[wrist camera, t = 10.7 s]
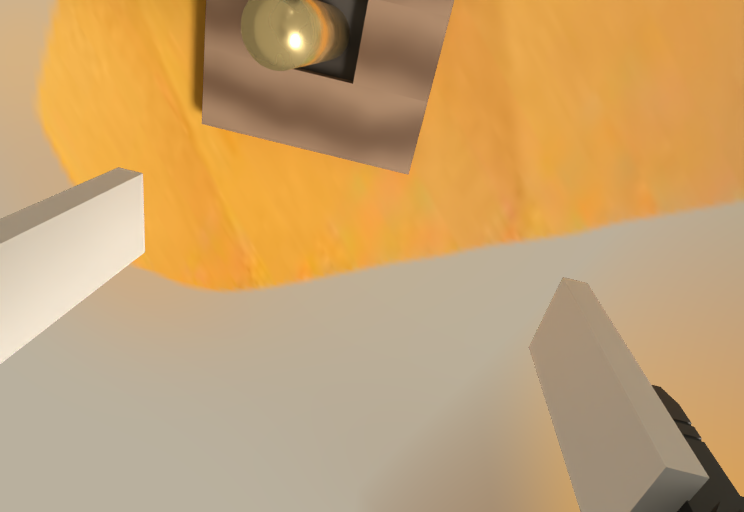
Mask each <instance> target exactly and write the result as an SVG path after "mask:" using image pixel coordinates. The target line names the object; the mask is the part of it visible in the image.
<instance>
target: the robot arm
mask: <svg viewBox="0 0 744 512" xmlns="http://www.w3.org/2000/svg"><path fill="white" fill-rule="evenodd" d="M144 252H145V235H144V199H143V173H139V172H135V171H131V170H127V169H123V168H119V167H118V168H116V169H114V170H111V171H109V172H107V173H104V174H102V175H100V176H98V177H95V178H93V179H91V180H88V181H86V182H84V183H82V184H79V185H77V186H75V187H72V188H70V189H68V190H66V191H63V192H61V193H59V194H57V195H54V196H52V197H50V198H47V199H45V200H43V201H41V202H38V203H36V204H33V205H31V206H29V207H27V208H24V209H22V210H20V211H18V212H15V213H13V214H11V215H8V216H6V217H4V218H1V219H0V364H1V363H2V362H3V361H5V360H6V359H7V358H9V357H10V356H11V355H12V354H14V353H15V352H16V351H18V350H19V349H20V348H21V347H23V346H24V345H25V344H27V343H28V342H29V341H31V340H32V339H33V338H34V337H36V336H37V335H38V334H40V333H41V332H42V331H44V330H45V329H46V328H47V327H49V326H50V325H51V324H52V323H54V322H55V321H56V320H58V319H59V318H60V317H61V316H63V315H64V314H65V313H67V312H68V311H69V310H71V309H72V308H73V307H75V306H76V305H77V304H78V303H80V302H81V301H82V300H83V299H85V298H86V297H87V296H89V295H90V294H91V293H92V292H94V291H95V290H96V289H98V288H99V287H100V286H101V285H103V284H104V283H105V282H107V281H108V280H109V279H111V278H112V277H113V276H115V275H116V274H117V273H118V272H120V271H121V270H122V269H123V268H125V267H126V266H128V265H129V264H130V263H131V262H133V261H134V260H135V259H137V258H138V257H139V256H140V255H142V254H143V253H144ZM529 349H530V352H531V355H532V359H533V362H534V365H535V368H536V371H537V375H538V378H539V381H540V384H541V387H542V390H543V394H544V397H545V400H546V403H547V406H548V410H549V412H550V416H551V419H552V422H553V425H554V428H555V432H556V435H557V438H558V441H559V445H560V447H561V451H562V454H563V457H564V460H565V464H566V466H567V470H568V473H569V476H570V480H571V483H572V486H573V489H574V492H575V495H576V499H577V502H578V505H579V508H580V511H581V512H744V497H742V496H740V495H739V493H738V492H737V490H736V489H735V488H734V486H733V485H732V483H731V482H730V480H729V479H728V477H727V476H726V474H725V473H724V471H723V470H722V468H721V467H720V465H719V464H718V462H717V461H716V459H715V458H714V456H713V455H712V453H711V452H710V450H709V449H708V448H707V446H706V444H705V443H704V442H701V437H700V436H699V434H698V432H697V431H696V429H695V428H694V427H693V426H691V422H690V420H689V419H688V418H687V416H686V414H685V413H684V411H683V410H682V408H681V407H680V405H679V404H678V403H677V402H676V401H675V400H674V399H672V397H670V396H669V395H668V394H667V393H666V392H665V391H664V390H663V389H662V388H661V387H658V386H654V385H651V384H650V382H649V381H648V379H647V377H646V376H645V374H644V373H643V371H642V369H641V368H640V366H639V365H638V363H637V362H636V360H635V358H634V357H633V355H632V353H631V352H630V350H629V349H628V347H627V345H626V344H625V342H624V341H623V339H622V338H621V336H620V334H619V333H618V331H617V330H616V328H615V327H614V325H613V323H612V322H611V320H610V319H609V317H608V315H607V314H606V312H605V310H604V309H603V307H602V306H601V304H600V302H599V301H598V299H597V298H596V296H595V295H594V293H593V291H592V290H591V288H590V286H589V285H588V284H587V283H585V282H580V281H577V280H572V279H568V278H564V277H563V278H562V280H561V282H560V284H559V286H558V288H557V290H556V292H555V294H554V296H553V298H552V301H551V302H550V305H549V307H548V309H547V311H546V313H545V315H544V317H543V319H542V321H541V323H540V325H539V327H538V329H537V332H536V333H535V335H534V338H533V340H532V342H531V344H530V346H529Z"/></svg>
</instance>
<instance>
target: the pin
mask: <svg viewBox="0 0 744 512" xmlns="http://www.w3.org/2000/svg"><path fill="white" fill-rule="evenodd" d="M241 34H242V39H243V42H244V44H245V47H246V49H247V50H248V52H249V54H250V55H251V56H252V57H253V59H254V60H255V61H257V62H258V63H259V64H260V65H262V66H264V67H266V68H268V69H271V70H275V71H285V70H290V69H294V68H299V67H303V66H307V65H312V64H316V63H320V62H325V61H329V60H333V59H335V58H337V57H339V56H340V55H341V54H342V53H343V52H344V51H345V49H346V47H347V45H348V43H349V39H350V28H349V24H348V21H347V19H346V17H345V15H344V14H343V13H342V12H341V11H340V10H339V9H338V8H337V7H335V6H333V5H330V4H327V3H324V2H321V1H317V0H249V1H248V2H247V4H246V6H245V8H244V10H243V13H242V17H241Z"/></svg>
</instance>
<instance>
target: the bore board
mask: <svg viewBox="0 0 744 512" xmlns="http://www.w3.org/2000/svg"><path fill="white" fill-rule="evenodd" d="M248 1H249V0H206V20H205V49H204V77H203V106H202V124H205V125H209V126H213V127H217V128H221V129H225V130H229V131H233V132H237V133H241V134H245V135H249V136H253V137H258V138H262V139H266V140H270V141H274V142H278V143H282V144H286V145H290V146H294V147H298V148H302V149H306V150H310V151H314V152H319V153H323V154H327V155H331V156H335V157H339V158H343V159H347V160H351V161H355V162H359V163H363V164H367V165H371V166H375V167H379V168H384V169H388V170H392V171H396V172H400V173H404V174H409V171H410V167H411V163H412V159H413V155H414V151H415V148H416V144H417V140H418V136H419V132H420V129H421V125H422V121H423V117H424V113H425V110H426V106H427V102H428V98H429V94H430V90H431V87H432V83H433V79H434V75H435V71H436V68H437V64H438V60H439V56H440V52H441V49H442V45H443V41H444V37H445V33H446V29H447V26H448V22H449V18H450V14H451V10H452V7H453V3H454V0H317V1H321V2H324V3H327V4H330V5H333V6H335V7H337V8H338V9H339V10H340V11H341V12H342V13H343V14H344V15H345V17H346V19H347V21H348V24H349V28H350V39H349V43H348V45H347V47H346V49H345V51H344V52H343V53H342V54H341V55H340V56H339V57H337V58H335V59H333V60H329V61H325V62H320V63H316V64H312V65H307V66H303V67H299V68H294V69H290V70H285V71H275V70H271V69H268V68H266V67H264V66H262V65H260V64H259V63H258V62H257V61H255V60H254V59H253V57H252V56H251V55H250V54H249V52H248V50H247V49H246V47H245V44H244V42H243V39H242V34H241V17H242V13H243V10H244V8H245V6H246V4H247V2H248Z"/></svg>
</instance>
